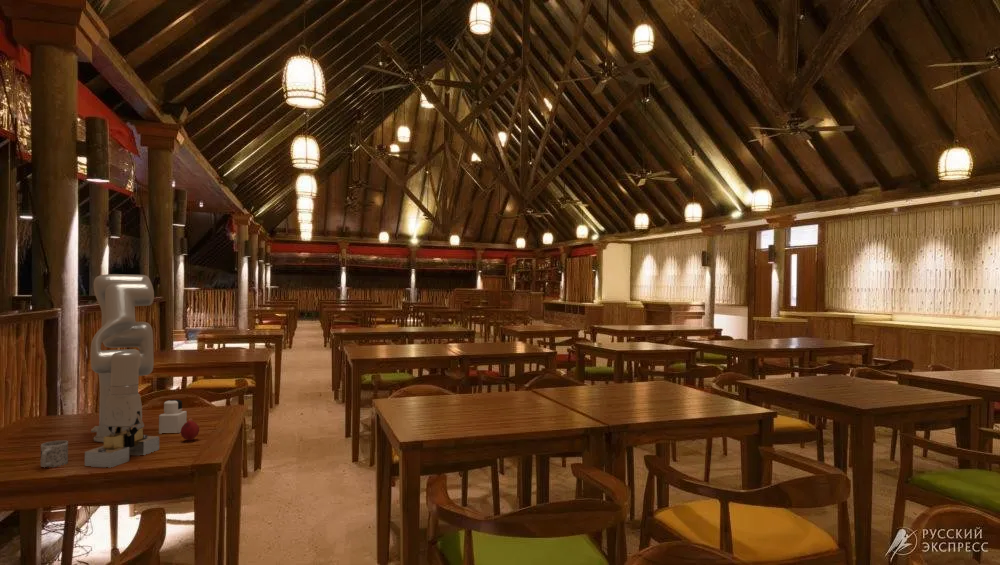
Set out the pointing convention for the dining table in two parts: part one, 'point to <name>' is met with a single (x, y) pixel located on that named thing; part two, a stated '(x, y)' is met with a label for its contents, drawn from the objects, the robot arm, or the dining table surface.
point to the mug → (54, 453)
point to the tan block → (120, 439)
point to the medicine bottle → (172, 417)
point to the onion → (189, 430)
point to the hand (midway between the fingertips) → (123, 446)
